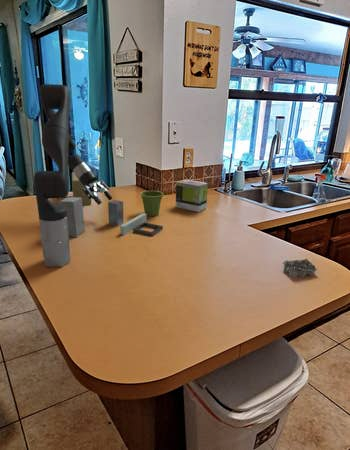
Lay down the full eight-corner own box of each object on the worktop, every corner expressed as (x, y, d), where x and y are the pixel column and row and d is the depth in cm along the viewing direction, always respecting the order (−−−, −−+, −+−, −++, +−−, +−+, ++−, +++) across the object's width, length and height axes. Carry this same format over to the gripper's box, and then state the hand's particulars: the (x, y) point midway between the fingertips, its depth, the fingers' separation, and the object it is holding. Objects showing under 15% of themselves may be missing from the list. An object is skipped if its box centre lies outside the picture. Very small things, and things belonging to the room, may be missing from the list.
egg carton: (290, 278, 118) (292, 268, 117) (280, 268, 125) (281, 258, 124) (317, 276, 120) (319, 266, 119) (306, 266, 127) (307, 256, 126)
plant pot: (159, 209, 184) (159, 189, 180) (165, 216, 173) (166, 195, 169) (138, 211, 180) (138, 190, 176) (143, 218, 170) (143, 197, 166)
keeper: (152, 236, 149) (152, 233, 148) (133, 232, 152) (133, 228, 152) (162, 229, 157) (162, 226, 157) (144, 225, 161) (144, 222, 160)
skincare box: (76, 237, 144) (74, 202, 138) (61, 236, 145) (58, 200, 140) (85, 230, 152) (83, 197, 146) (71, 229, 153) (68, 195, 147)
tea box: (206, 208, 190) (208, 182, 185) (198, 212, 182) (199, 186, 177) (184, 203, 197) (185, 178, 192) (174, 207, 189) (175, 181, 184)
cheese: (67, 196, 202) (65, 171, 197) (83, 194, 206) (81, 170, 201) (74, 206, 184) (72, 179, 178) (91, 205, 188) (90, 178, 182)
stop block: (117, 226, 158) (117, 204, 154) (108, 224, 160) (108, 202, 156) (123, 223, 163) (123, 201, 159) (114, 221, 165) (114, 199, 161)
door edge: (124, 235, 149) (124, 226, 147) (120, 234, 149) (120, 225, 148) (146, 221, 166) (146, 213, 164) (142, 220, 167) (142, 213, 165)
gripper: (79, 172, 152) (101, 200, 152) (98, 167, 164) (118, 193, 164) (70, 182, 156) (92, 209, 156) (90, 176, 168) (110, 202, 168)
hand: (105, 201), depth 160 cm, fingers open, 8 cm apart
